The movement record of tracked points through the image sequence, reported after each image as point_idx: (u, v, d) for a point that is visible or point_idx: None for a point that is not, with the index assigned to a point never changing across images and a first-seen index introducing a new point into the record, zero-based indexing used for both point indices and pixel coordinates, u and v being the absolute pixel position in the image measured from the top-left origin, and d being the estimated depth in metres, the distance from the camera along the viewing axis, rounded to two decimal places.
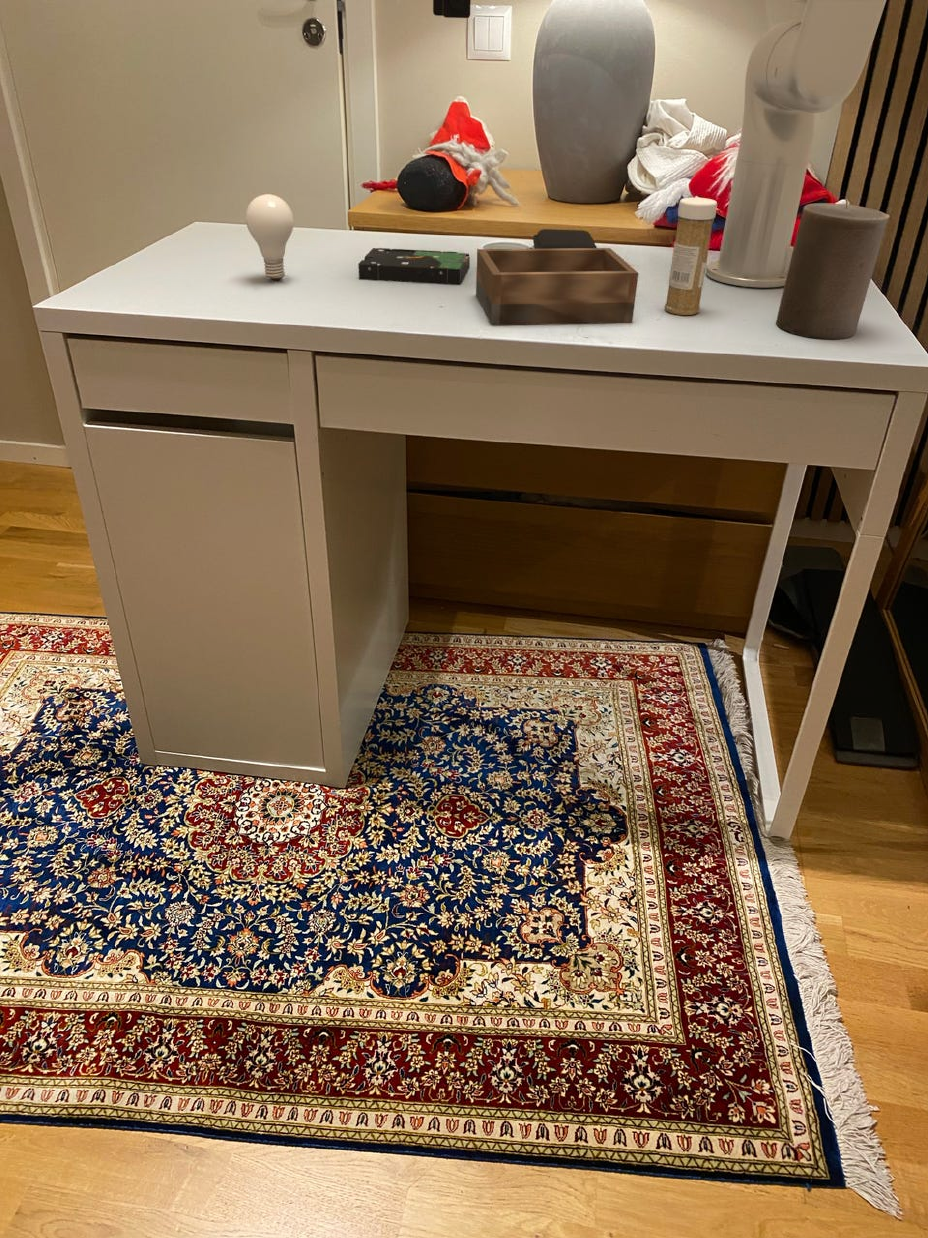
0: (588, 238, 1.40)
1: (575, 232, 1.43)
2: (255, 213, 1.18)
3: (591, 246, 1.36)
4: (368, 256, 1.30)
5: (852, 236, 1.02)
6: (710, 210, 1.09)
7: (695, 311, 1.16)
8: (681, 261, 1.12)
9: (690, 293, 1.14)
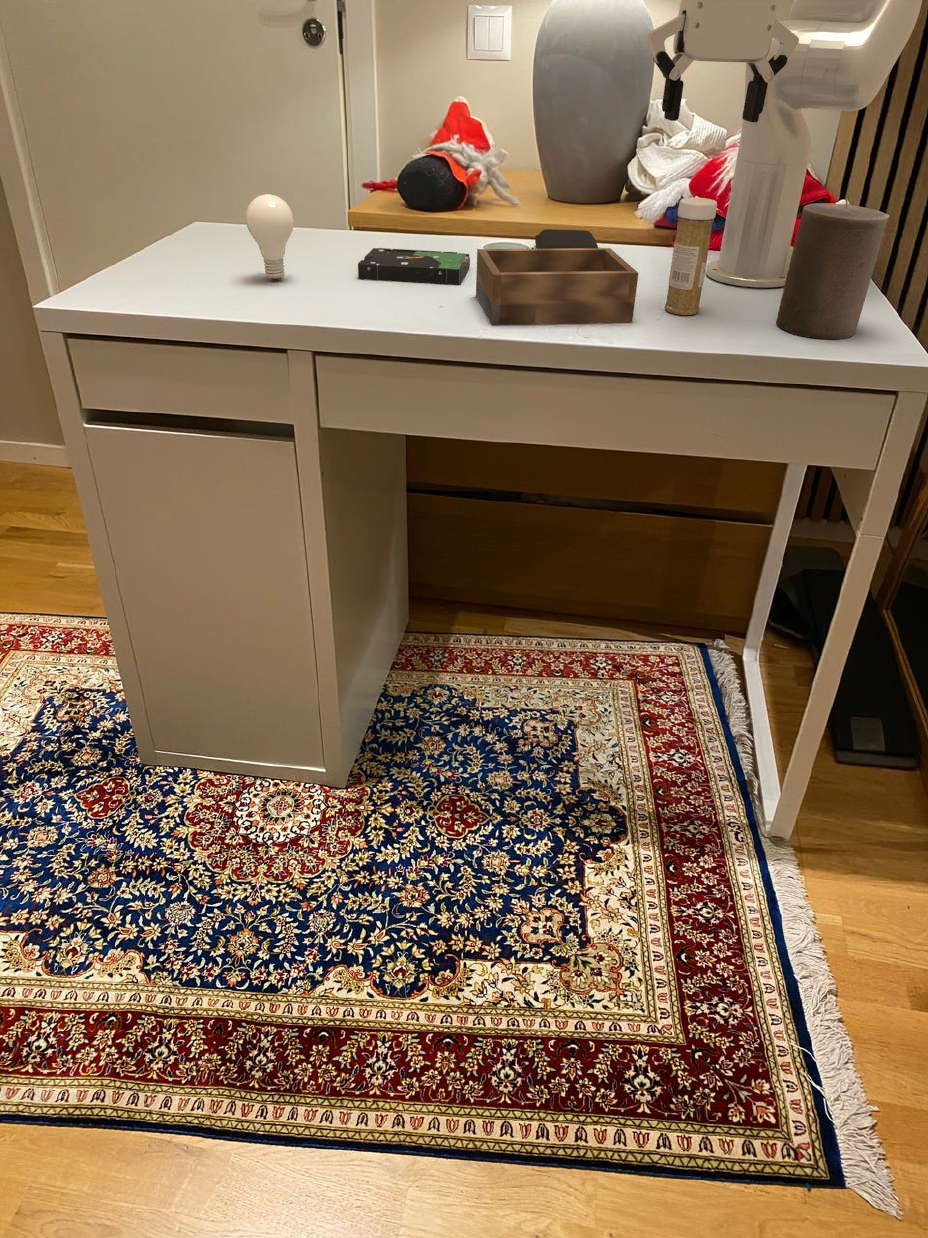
0: (590, 238, 1.40)
1: (577, 232, 1.43)
2: (255, 213, 1.18)
3: (593, 246, 1.36)
4: (368, 256, 1.30)
5: (852, 235, 1.02)
6: (710, 210, 1.09)
7: (695, 311, 1.16)
8: (681, 261, 1.12)
9: (690, 293, 1.14)
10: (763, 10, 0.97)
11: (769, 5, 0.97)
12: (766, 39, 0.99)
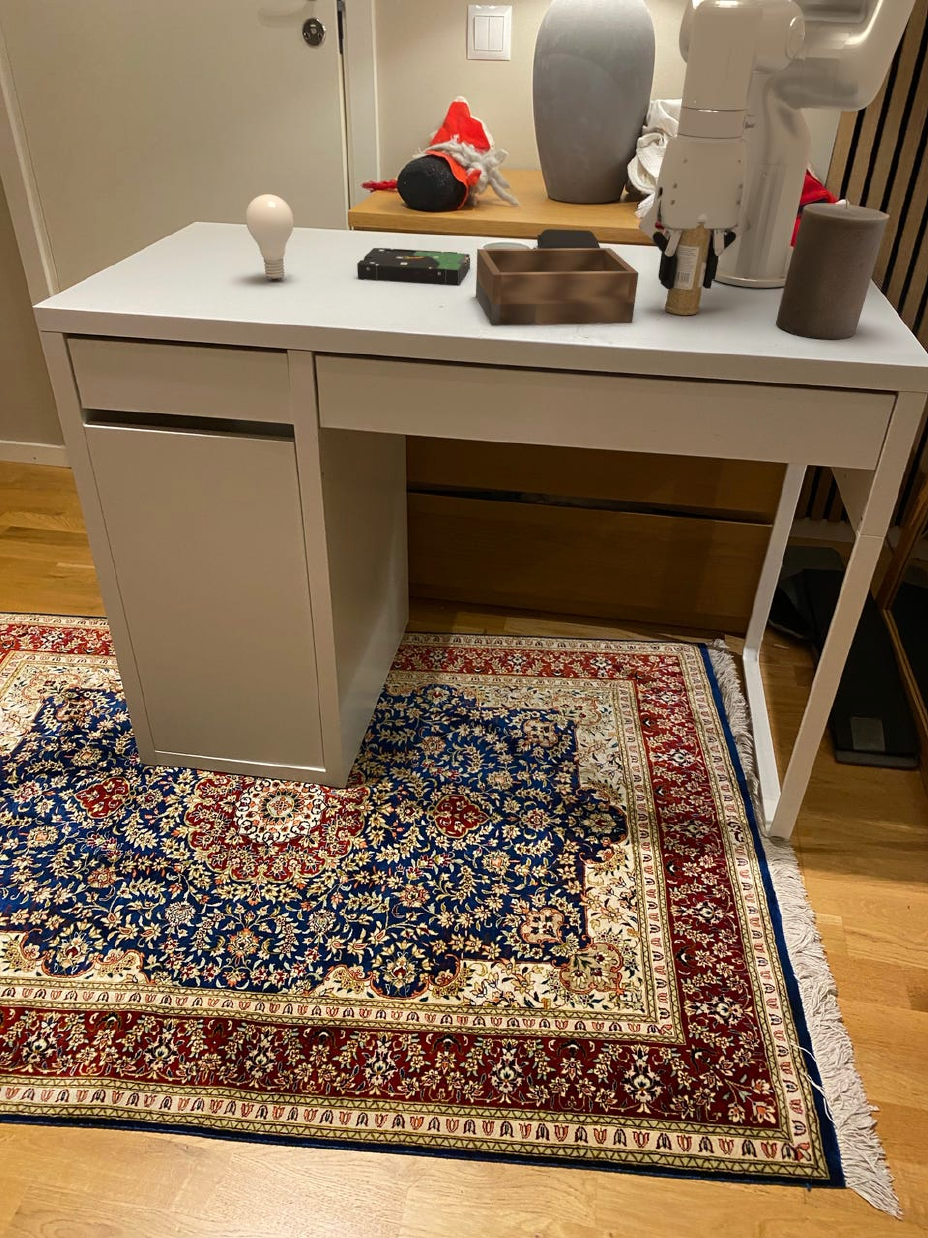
0: (592, 238, 1.40)
1: (579, 232, 1.43)
2: (255, 213, 1.18)
3: (595, 246, 1.36)
4: (368, 256, 1.30)
5: (852, 236, 1.02)
6: None
7: (695, 311, 1.16)
8: (681, 261, 1.12)
9: (690, 294, 1.14)
10: (732, 188, 1.07)
11: (737, 184, 1.07)
12: (735, 211, 1.09)
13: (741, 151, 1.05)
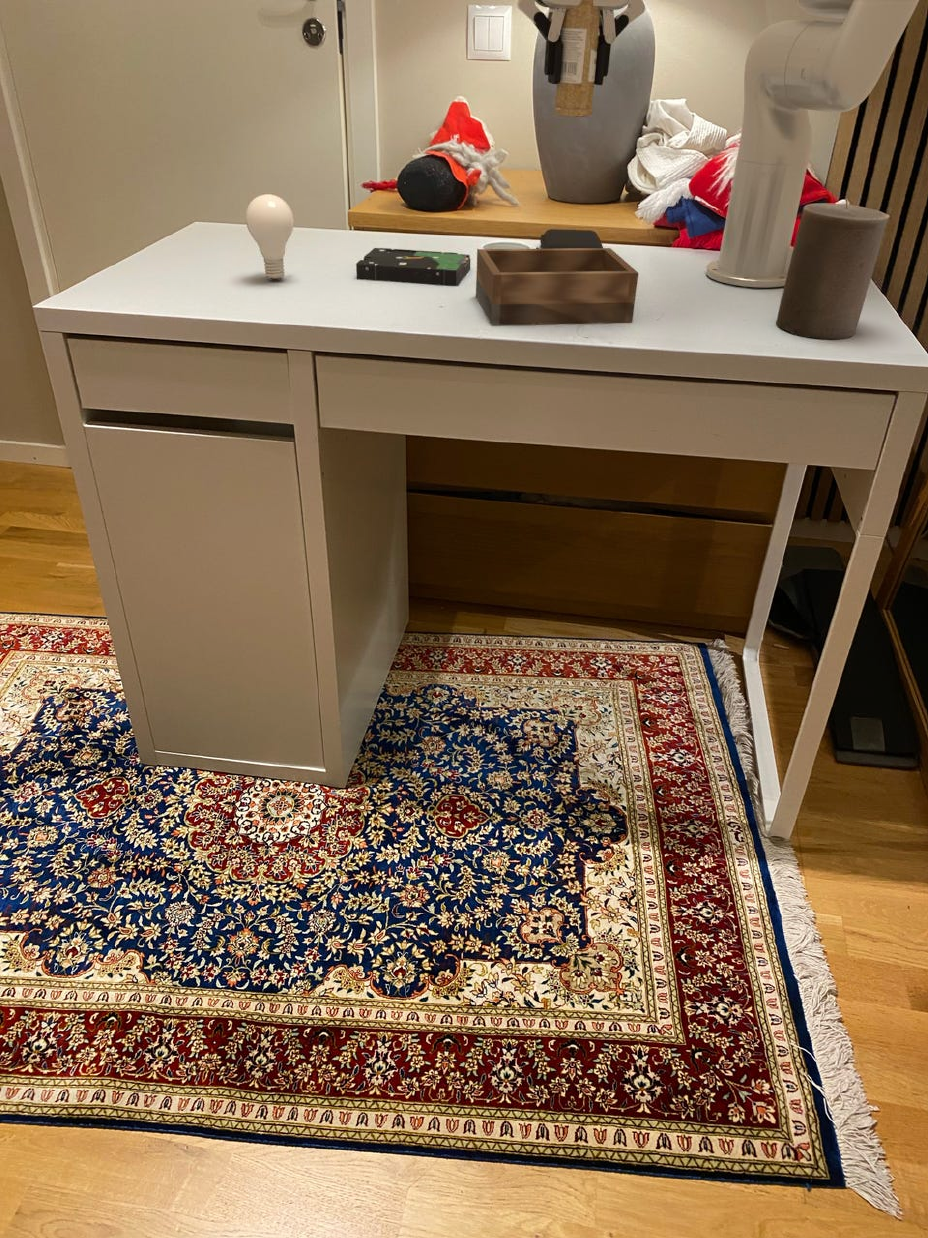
0: (595, 238, 1.40)
1: (582, 232, 1.43)
2: (255, 213, 1.18)
3: (597, 246, 1.36)
4: (368, 256, 1.30)
5: (852, 236, 1.02)
6: None
7: (587, 112, 1.02)
8: (567, 48, 0.99)
9: (580, 89, 1.01)
10: None
11: None
12: None
13: None
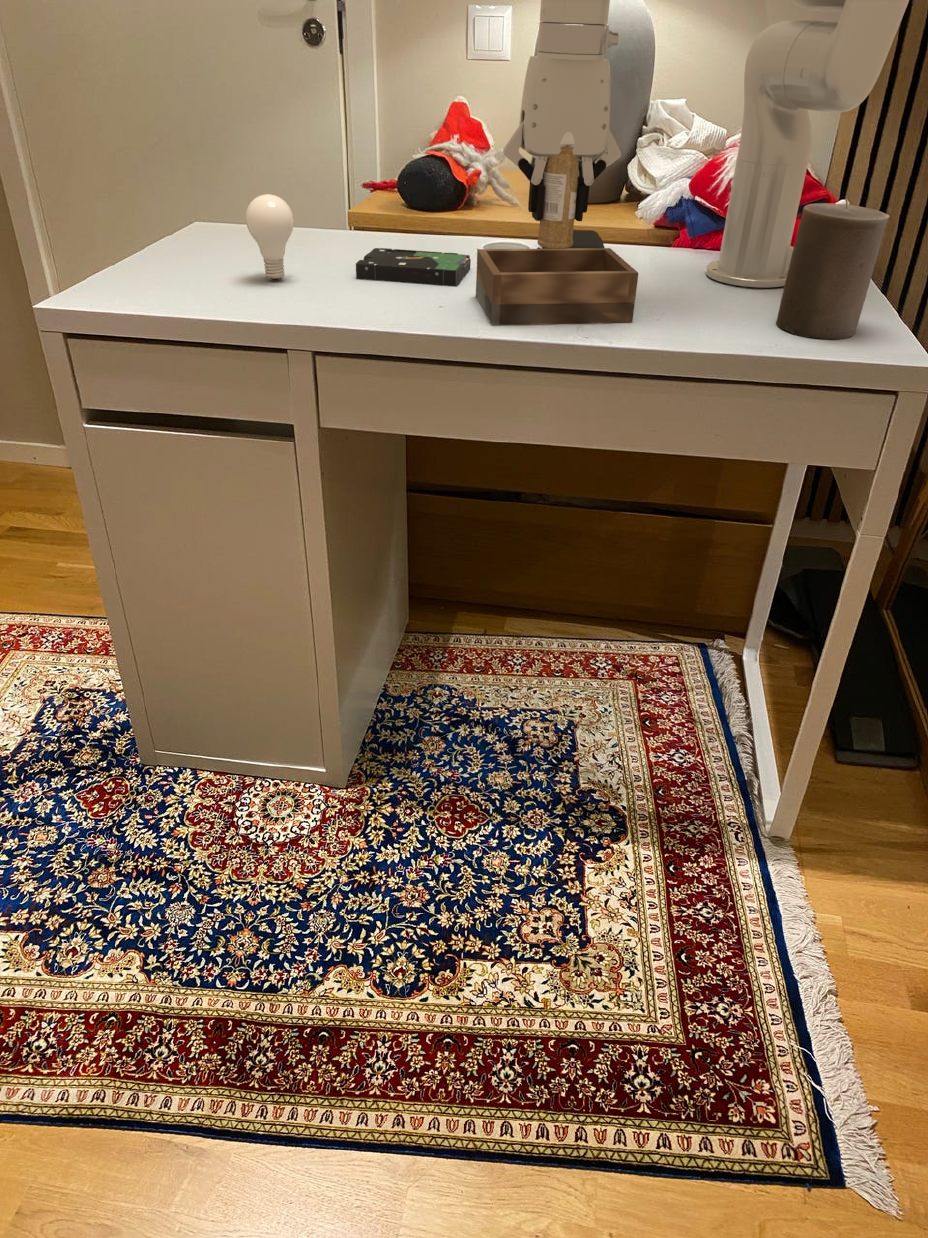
0: (596, 238, 1.40)
1: (583, 232, 1.43)
2: (255, 213, 1.18)
3: (598, 246, 1.36)
4: (367, 256, 1.30)
5: (852, 236, 1.02)
6: None
7: (568, 245, 1.11)
8: (548, 190, 1.07)
9: (560, 225, 1.09)
10: (596, 111, 1.02)
11: (602, 106, 1.02)
12: (602, 137, 1.04)
13: (603, 70, 1.00)
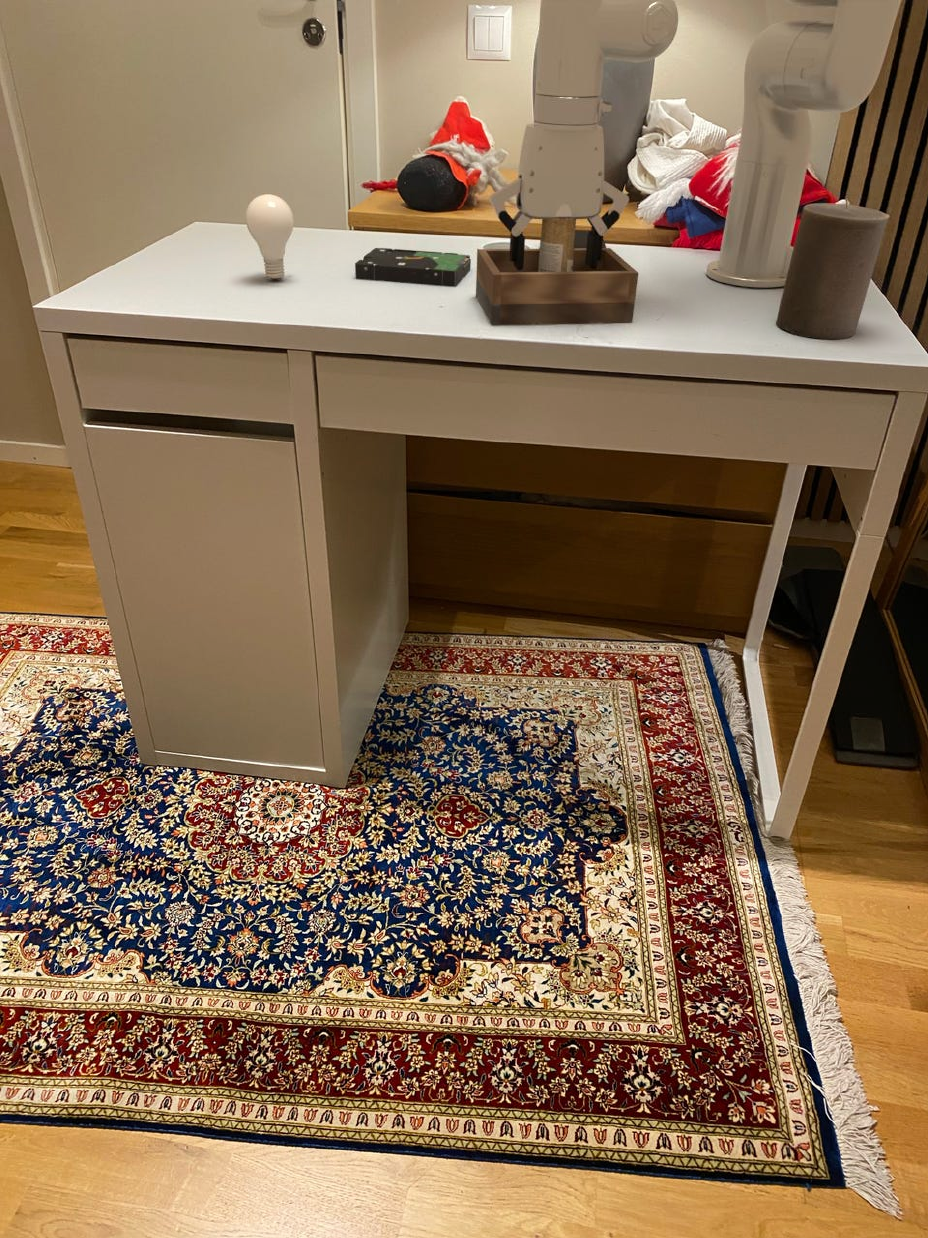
0: None
1: (585, 232, 1.43)
2: (255, 213, 1.18)
3: None
4: (367, 256, 1.30)
5: (852, 236, 1.02)
6: None
7: None
8: (546, 259, 1.12)
9: None
10: (591, 176, 1.06)
11: (596, 172, 1.06)
12: (597, 200, 1.08)
13: (597, 138, 1.04)
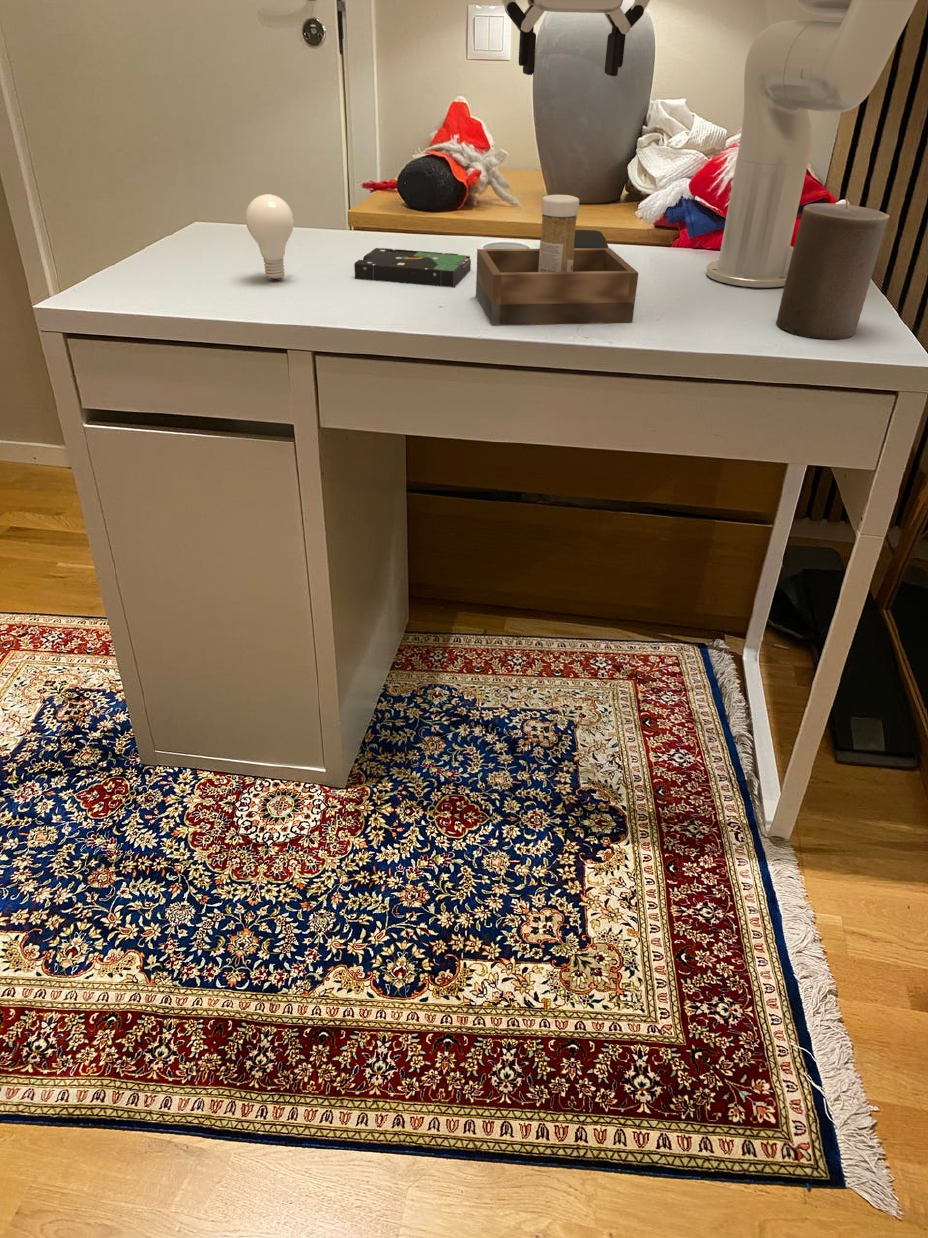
0: (600, 238, 1.40)
1: (588, 232, 1.43)
2: (255, 213, 1.18)
3: (602, 246, 1.36)
4: (367, 256, 1.30)
5: (852, 236, 1.02)
6: (571, 207, 1.08)
7: None
8: (546, 259, 1.12)
9: None
10: None
11: None
12: None
13: None
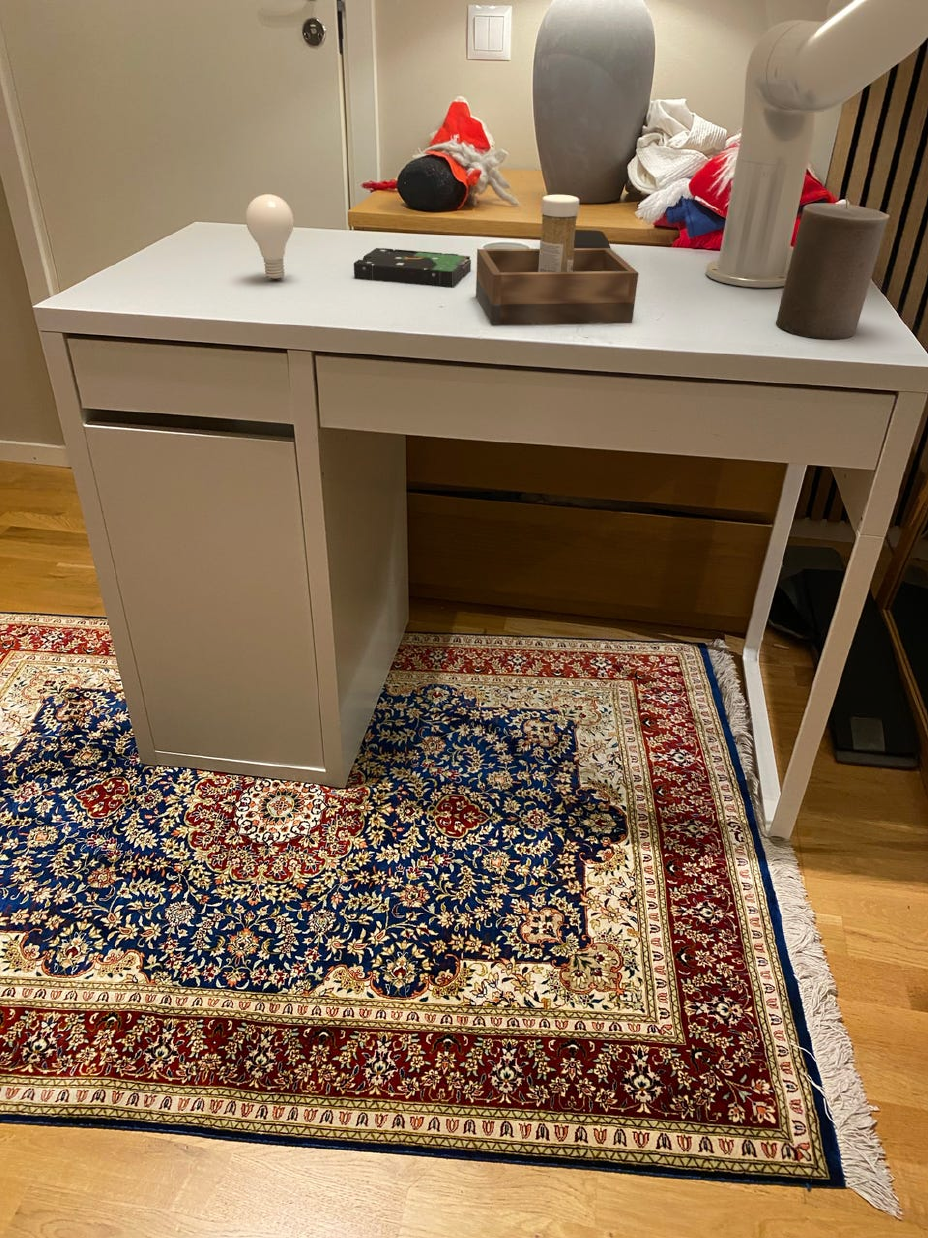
0: (602, 238, 1.40)
1: (590, 232, 1.43)
2: (255, 213, 1.18)
3: (604, 246, 1.36)
4: (367, 256, 1.30)
5: (852, 235, 1.02)
6: (571, 207, 1.08)
7: None
8: (546, 259, 1.12)
9: None
10: None
11: None
12: None
13: None
